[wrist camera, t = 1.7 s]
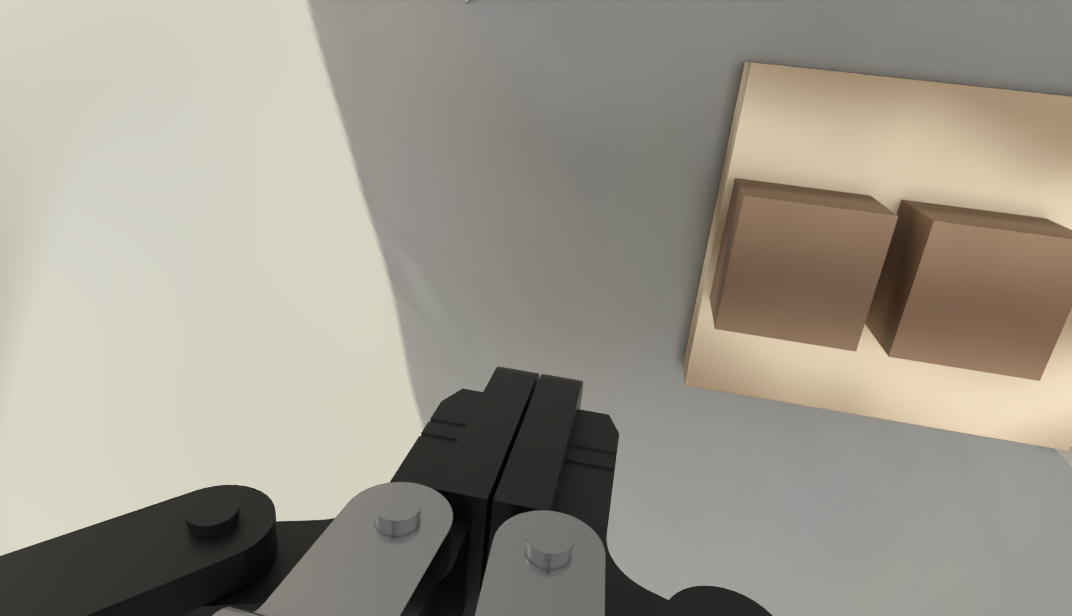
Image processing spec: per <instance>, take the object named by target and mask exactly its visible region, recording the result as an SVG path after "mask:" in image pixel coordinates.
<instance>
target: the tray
mask: <svg viewBox="0 0 1072 616" xmlns="http://www.w3.org/2000/svg"><path fill="white" fill-rule="evenodd" d="M1054 449H1055V450H1056V451H1057V452H1058V453H1059V454H1060V455H1061V456H1062V457H1063V458H1064V459H1065V460H1066V461H1067V462H1068V463H1069V464H1070V465H1071V466H1072V445H1071V447H1070V449H1069V451H1067V450H1061V449H1056V448H1054Z"/></svg>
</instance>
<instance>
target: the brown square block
mask: <svg viewBox="0 0 1072 616" xmlns="http://www.w3.org/2000/svg"><path fill="white" fill-rule="evenodd" d="M897 219H898V215H896V214H895V213H894V212H892V211H891V210H890V209H888V208H887V207H885V206H884V205H883V204H881V203H880V202H879V201H877V200H876V199H874V198H873V197H872V196H870V195H863V194H855V193H847V192H840V191H832V190H824V189H817V188H809V187H801V186H793V185H786V184H778V183H770V182H763V181H755V180H747V179H740V178H735V180H734V185H733V189H732V194H731V199H730V204H729V208H728V213H727V218H726V222H725V227H724V232H723V237H722V241H721V246H720V251H719V255H718V260H717V265H716V270H715V274H714V279H713V284H712V288H711V293H710V304H711V310H712V316H713V322H714V328H715V329H718V330H724V331H730V332H736V333H743V334H749V335H755V336H761V337H768V338H774V339H780V340H786V341H793V342H799V343H805V344H811V345H818V346H824V347H830V348H836V349H843V350H849V351H855V352H856V350H857V347H858V344H859V341H860V338H861V334H862V331H863V328H864V325H865V322H866V318H867V315H868V312H869V309H870V306H871V302H872V299H873V296H874V293H875V290H876V286H877V283H878V280H879V277H880V274H881V270H882V267H883V264H884V261H885V258H886V254H887V251H888V248H889V245H890V242H891V238H892V235H893V232H894V229H895V226H896V222H897Z"/></svg>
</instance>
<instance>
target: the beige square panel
mask: <svg viewBox="0 0 1072 616" xmlns="http://www.w3.org/2000/svg"><path fill="white" fill-rule="evenodd" d="M735 178H740V179H747V180H755V181H763V182H770V183H778V184H786V185H793V186H801V187H809V188H817V189H824V190H832V191H840V192H847V193H855V194H863V195H870V196H872V197H873V198H874V199H876V200H877V201H879V202H880V203H881V204H883V205H884V206H885V207H887V208H888V209H890V210H891V211H892V212H894V213H895V214H896V215H897V212H898V209H899V206H900V202H901V200H909V201H917V202H924V203H932V204H940V205H948V206H955V207H963V208H971V209H978V210H986V211H994V212H1001V213H1009V214H1017V215H1025V216H1032V217H1040V218H1046V219H1049V220H1051V221H1053V222H1055V223H1057V224H1060V225H1062V226H1064V227H1066V228H1068V229H1071V230H1072V96H1063V95H1054V94H1044V93H1035V92H1026V91H1016V90H1007V89H998V88H988V87H979V86H970V85H960V84H951V83H942V82H932V81H923V80H913V79H904V78H895V77H885V76H876V75H867V74H857V73H848V72H839V71H829V70H820V69H811V68H801V67H792V66H783V65H773V64H764V63H755V62H745V63H744V68H743V73H742V78H741V83H740V88H739V93H738V97H737V102H736V107H735V112H734V117H733V122H732V127H731V132H730V137H729V142H728V146H727V151H726V156H725V161H724V166H723V171H722V176H721V181H720V186H719V191H718V195H717V200H716V205H715V210H714V215H713V220H712V225H711V230H710V235H709V239H708V244H707V249H706V254H705V259H704V264H703V269H702V274H701V279H700V284H699V288H698V293H697V298H696V303H695V308H694V313H693V318H692V323H691V328H690V333H689V337H688V342H687V347H686V352H685V357H684V362H683V366H684V385H689V386H694V387H700V388H706V389H712V390H718V391H724V392H729V393H735V394H741V395H747V396H753V397H759V398H764V399H770V400H776V401H782V402H788V403H793V404H799V405H805V406H811V407H817V408H823V409H828V410H834V411H840V412H846V413H852V414H858V415H863V416H869V417H875V418H881V419H887V420H893V421H898V422H904V423H910V424H916V425H922V426H927V427H933V428H939V429H945V430H951V431H957V432H962V433H968V434H974V435H980V436H986V437H992V438H997V439H1003V440H1009V441H1015V442H1021V443H1027V444H1032V445H1038V446H1044V447H1050V448H1056V449H1061V450H1067V451H1069V449H1070V447H1071V445H1072V309H1071V311H1070V313H1069V315H1068V318H1067V320H1066V322H1065V325H1064V327H1063V329H1062V331H1061V334H1060V336H1059V338H1058V341H1057V343H1056V345H1055V347H1054V350H1053V352H1052V354H1051V357H1050V359H1049V361H1048V363H1047V366H1046V368H1045V370H1044V373H1043V375H1042V377H1041V379H1040V381H1037V380H1030V379H1024V378H1018V377H1012V376H1005V375H999V374H993V373H987V372H980V371H974V370H968V369H962V368H955V367H949V366H943V365H937V364H930V363H924V362H918V361H912V360H905V359H899V358H893V357H888V355H887V354H886V353H885V351H884V350H883V348H882V347H881V346H880V344H879V343H878V341H877V340H876V339H875V337H874V336H873V334H872V333H871V332H870V330H869V329H868V327H867V326H866V325H864V328H863V331H862V334H861V338H860V341H859V344H858V347H857V350H856V352H855V351H849V350H843V349H836V348H830V347H824V346H818V345H811V344H805V343H799V342H793V341H786V340H780V339H774V338H768V337H761V336H755V335H749V334H743V333H736V332H730V331H724V330H718V329H715V328H714V322H713V316H712V310H711V304H710V293H711V288H712V284H713V279H714V274H715V270H716V265H717V260H718V255H719V251H720V246H721V241H722V237H723V232H724V227H725V222H726V218H727V213H728V208H729V204H730V199H731V194H732V189H733V185H734V180H735Z"/></svg>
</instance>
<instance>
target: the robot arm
mask: <svg viewBox="0 0 1072 616" xmlns="http://www.w3.org/2000/svg"><path fill="white" fill-rule="evenodd" d="M582 389H583V381H579V380H574V379H568V378H562V377H556V376H551V375H545V374H542V375H541V377H540V379H539V374H538V373H533V372H527V371H521V370H515V369H510V368H504V367H497V368H496V370H495V371H494V373H493V375H492V377H491V379H490V381H489V383H488V384H487V386H486V388H485V390H484V392H479V391H473V390H467V389H461V390H460V391H458V392H456V393H455V394H453V395H451V396H450V397H448V398H446V399H445V400H443V401H442V402H441V403H440V405H439V406H438V408H437V409H436V411H435V412H434V414H433V416H432V417H431V420H430V422H428V423H427V425H426V427H425V428H424V430H423V431H422V434H421V436H419V438H418V439H417V441H416V442H415V444H414V445H413V447H412V449H411V450H410V452H409V453H408V455H407V456H406V458H405V459H404V461H403V462H402V464H401V466H400V467H399V469H398V471H397V472H396V473H395V475H394V477H393V478H392V480H391V481H390V483H385V484H381V485H377V486H374V487H371V488H368V489H366V490H364V491H362V492H361V493H359V494H358V495H356V496H355V497H353V498H352V500H350V501H349V503H347V505H346V506H345V507H344V508H343V510H342V511H341V512H340V513H339V514H338V515H337V517H336V518H334V519H327V520H311V521H281V522H276V513H275V507H274V504H273V502H272V501H271V499H270V498H269V497H268V496H267V495H266V494H264V493H262V492H261V491H259V490H256V489H254V488H250V487H246V486H239V485H221V486H213V487H208V488H203V489H200V490H196V491H193V492H190V493H188V494H184V495H181V496H179V497H175V498H172V499H169V500H167V501H164V502H160V503H158V504H154V505H151V506H148V507H146V508H143V509H140V510H137V511H134V512H131V513H128V514H125V515H122V516H119V517H116V518H113V519H110V520H107V521H104V522H101V523H98V524H95V525H92V526H89V527H86V528H83V529H80V530H77V531H74V532H71V533H68V534H65V535H62V536H59V537H56V538H53V539H50V540H47V541H44V542H41V543H38V544H35V545H32V546H29V547H26V548H23V549H20V550H17V551H14V552H11V553H8V554H5V555H2V556H0V616H772V615H771V614H770V613H769V612H768V611H767V610H766V609H764V608H763V607H762V606H760V605H759V604H758V603H756V602H755V601H753V600H751V599H750V598H748V597H746V596H744V595H742V594H739V593H737V592H735V591H732V590H728V589H725V588H720V587H715V586H696V587H691V588H687V589H684V590H682V591H680V592H678V593H676V594H675V595H674V596H672V597H671V598H670V600H667V599H665V598H663V597H661V596H659V595H657V594H655V593H653V592H651V591H648V590H647V589H645V588H643V587H641V586H639V585H638V584H636V583H635V582H634V581H632V580H631V579H629V578H628V577H627V576H626V575H625V574H624V573H623V572H622V571H621V570H620V569H619V568H618V566H617V565H616V564H615V562H614V561H613V559H612V558H611V556H610V553H609V551H608V547H607V542H606V535H607V527H608V519H609V511H610V503H611V495H612V486H613V478H614V470H615V462H616V454H617V446H618V438H619V433H618V431H617V429H616V427H615V425H614V423H613V422H612V420H611V418H610V416H609V415H607V414H602V413H596V412H591V411H585V410H580V404H581V397H582Z"/></svg>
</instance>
